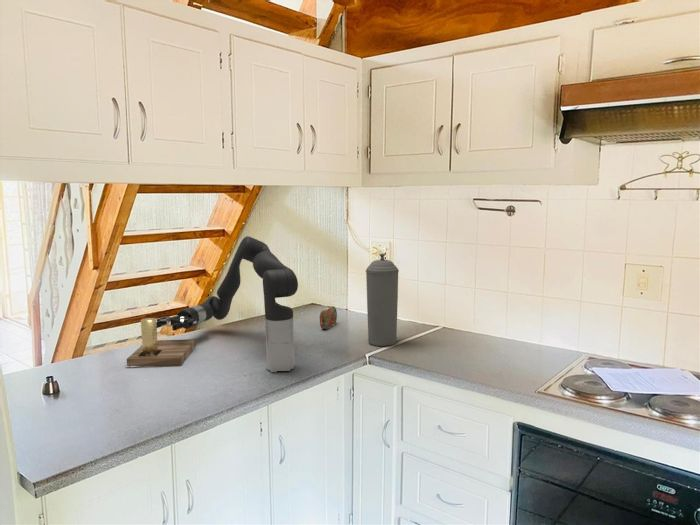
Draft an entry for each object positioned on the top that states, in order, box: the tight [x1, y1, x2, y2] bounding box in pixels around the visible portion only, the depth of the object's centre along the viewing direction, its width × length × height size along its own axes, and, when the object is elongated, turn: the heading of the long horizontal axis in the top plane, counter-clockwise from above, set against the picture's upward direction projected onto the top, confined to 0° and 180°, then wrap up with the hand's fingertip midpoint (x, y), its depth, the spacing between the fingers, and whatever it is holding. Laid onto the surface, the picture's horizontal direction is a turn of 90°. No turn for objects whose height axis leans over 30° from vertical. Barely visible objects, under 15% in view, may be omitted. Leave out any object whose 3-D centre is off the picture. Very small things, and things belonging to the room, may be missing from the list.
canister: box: [365, 253, 400, 347], centre depth 196 cm, size 13×13×35 cm
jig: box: [126, 338, 197, 367], centre depth 183 cm, size 22×18×3 cm
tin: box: [319, 306, 338, 330], centre depth 222 cm, size 15×3×8 cm, turn 161°
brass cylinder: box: [140, 317, 158, 356], centre depth 178 cm, size 5×5×15 cm
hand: (163, 326), depth 184 cm, fingers open, 8 cm apart
